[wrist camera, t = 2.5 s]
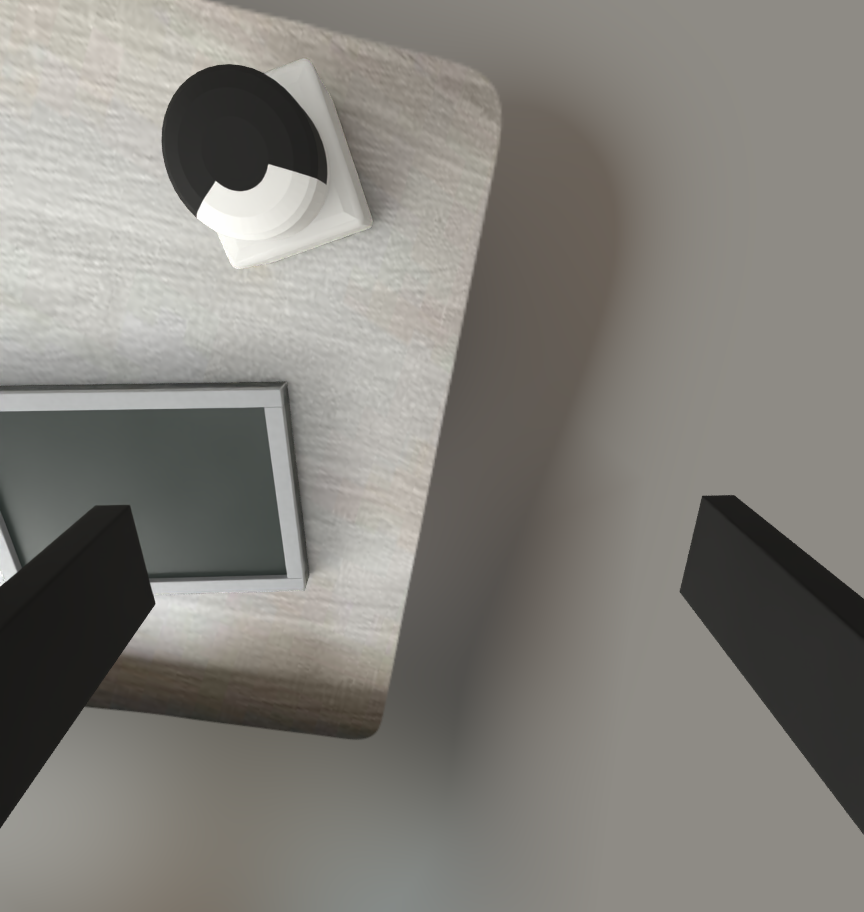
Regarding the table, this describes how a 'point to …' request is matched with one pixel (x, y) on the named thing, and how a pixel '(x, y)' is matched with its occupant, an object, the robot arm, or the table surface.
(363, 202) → the medicine bottle
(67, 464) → the chalkboard
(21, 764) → the robot arm
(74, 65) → the table surface
